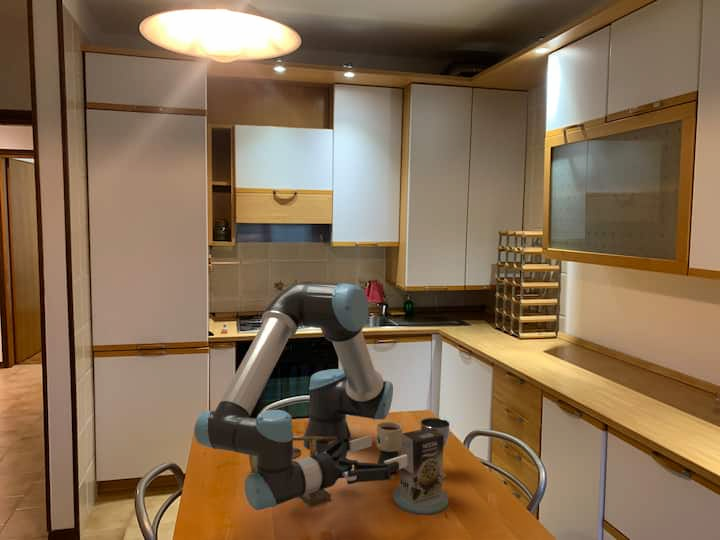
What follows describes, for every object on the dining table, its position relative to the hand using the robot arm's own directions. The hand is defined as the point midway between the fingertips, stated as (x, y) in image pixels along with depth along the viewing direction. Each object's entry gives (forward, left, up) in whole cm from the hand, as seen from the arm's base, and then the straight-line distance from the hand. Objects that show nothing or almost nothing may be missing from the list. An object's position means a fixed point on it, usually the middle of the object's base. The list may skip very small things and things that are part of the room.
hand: (388, 450), depth 137 cm
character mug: (-17, +14, -15) cm, 27 cm away
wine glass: (-8, +23, -15) cm, 29 cm away
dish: (+1, +10, -15) cm, 18 cm away
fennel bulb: (-36, -17, -15) cm, 42 cm away
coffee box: (+1, +10, -14) cm, 17 cm away
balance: (-16, -12, -15) cm, 25 cm away
